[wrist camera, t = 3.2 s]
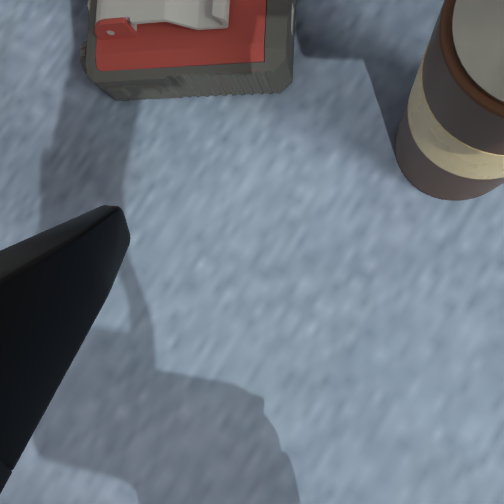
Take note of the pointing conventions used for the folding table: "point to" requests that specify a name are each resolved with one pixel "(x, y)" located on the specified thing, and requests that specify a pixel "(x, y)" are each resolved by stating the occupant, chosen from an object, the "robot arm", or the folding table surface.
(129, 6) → the walkie-talkie
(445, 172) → the coffee can
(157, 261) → the folding table surface
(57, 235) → the robot arm
